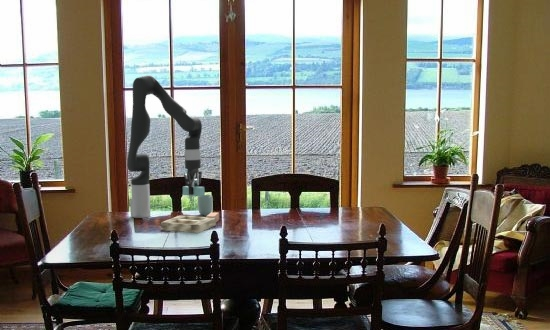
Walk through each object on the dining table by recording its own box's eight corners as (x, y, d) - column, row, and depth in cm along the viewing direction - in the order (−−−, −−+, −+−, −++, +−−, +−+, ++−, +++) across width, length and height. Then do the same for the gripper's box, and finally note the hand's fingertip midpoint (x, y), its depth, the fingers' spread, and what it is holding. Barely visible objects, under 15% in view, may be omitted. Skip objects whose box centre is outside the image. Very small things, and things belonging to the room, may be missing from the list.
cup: (214, 213, 295) (213, 195, 294) (211, 216, 287) (210, 197, 286) (200, 213, 296) (199, 194, 295) (196, 216, 288) (196, 197, 287)
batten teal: (204, 195, 264) (204, 186, 263) (199, 196, 260) (199, 187, 260) (187, 193, 268) (187, 185, 268) (182, 195, 265) (182, 186, 264)
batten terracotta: (214, 224, 268) (214, 216, 268) (206, 224, 269) (206, 216, 268) (219, 220, 278) (218, 212, 278) (211, 220, 279) (211, 212, 278)
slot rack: (161, 229, 257) (161, 222, 256) (180, 222, 273) (179, 215, 272) (198, 232, 250) (198, 225, 249) (215, 225, 266) (215, 217, 265)
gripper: (192, 160, 255) (193, 196, 256) (206, 157, 268) (207, 192, 270) (178, 159, 257) (179, 195, 259) (192, 157, 270) (193, 191, 272)
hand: (193, 193), depth 264 cm, fingers closed on batten teal, 4 cm apart
